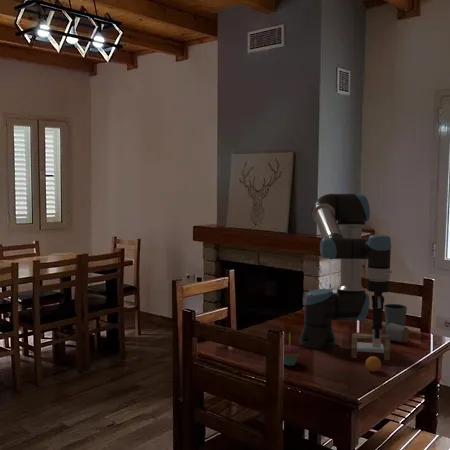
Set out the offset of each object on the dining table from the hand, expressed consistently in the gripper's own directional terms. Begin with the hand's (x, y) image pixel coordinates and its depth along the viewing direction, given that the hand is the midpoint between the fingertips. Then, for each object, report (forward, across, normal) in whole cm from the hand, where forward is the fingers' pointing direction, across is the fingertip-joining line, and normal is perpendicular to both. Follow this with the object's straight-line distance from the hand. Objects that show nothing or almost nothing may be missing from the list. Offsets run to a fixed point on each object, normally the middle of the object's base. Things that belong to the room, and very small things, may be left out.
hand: (376, 346), depth 189 cm
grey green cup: (+11, +70, -14) cm, 72 cm away
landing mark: (+12, +40, 0) cm, 42 cm away
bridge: (+12, +26, 0) cm, 29 cm away
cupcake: (+12, +12, +31) cm, 35 cm away
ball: (+9, +10, 0) cm, 14 cm away
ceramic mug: (+12, +54, -14) cm, 57 cm away
